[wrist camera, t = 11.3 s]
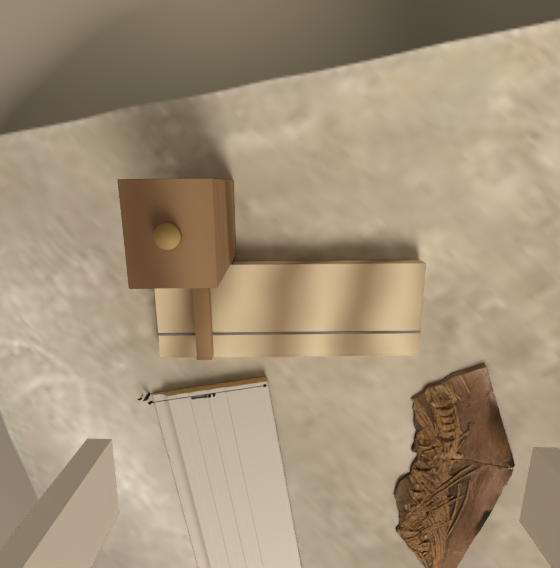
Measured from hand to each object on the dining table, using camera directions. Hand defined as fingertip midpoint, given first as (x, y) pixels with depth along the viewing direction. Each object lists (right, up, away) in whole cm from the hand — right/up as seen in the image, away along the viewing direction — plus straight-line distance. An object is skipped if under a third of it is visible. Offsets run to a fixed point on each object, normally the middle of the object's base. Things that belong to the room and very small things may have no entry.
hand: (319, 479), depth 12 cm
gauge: (-7, +8, +21) cm, 23 cm away
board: (0, +4, +22) cm, 22 cm away
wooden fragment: (+16, -13, +27) cm, 34 cm away
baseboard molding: (-6, -18, +28) cm, 34 cm away
